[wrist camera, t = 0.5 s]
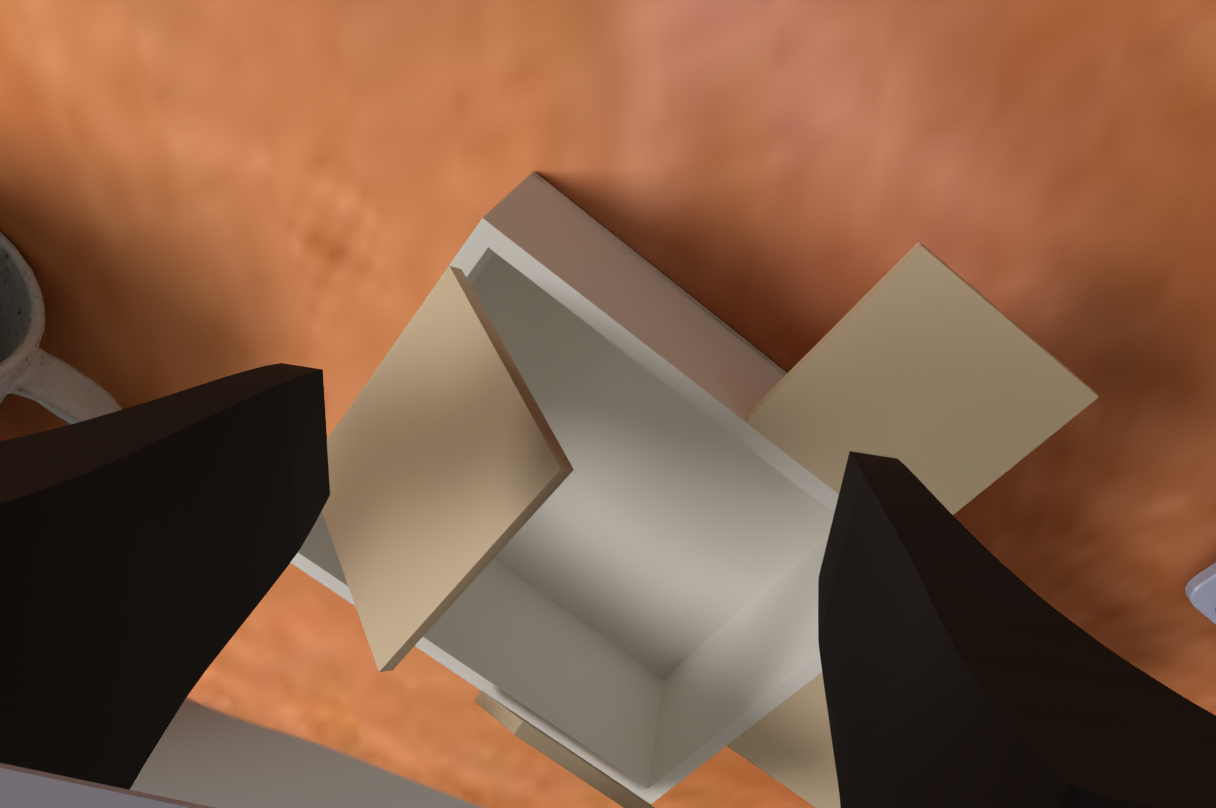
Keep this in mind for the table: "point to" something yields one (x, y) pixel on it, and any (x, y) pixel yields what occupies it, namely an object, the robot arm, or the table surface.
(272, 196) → the table surface
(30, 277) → the ceramic mug
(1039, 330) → the table surface
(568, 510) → the carton
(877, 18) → the table surface
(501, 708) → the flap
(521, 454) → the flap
